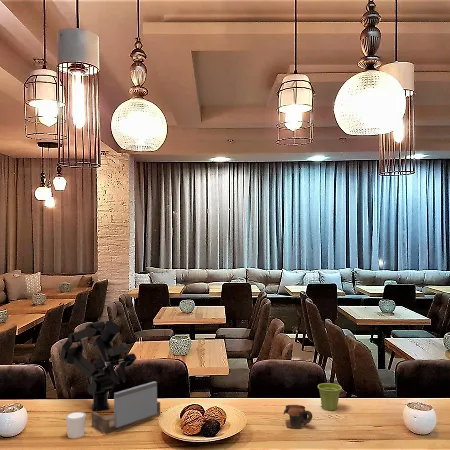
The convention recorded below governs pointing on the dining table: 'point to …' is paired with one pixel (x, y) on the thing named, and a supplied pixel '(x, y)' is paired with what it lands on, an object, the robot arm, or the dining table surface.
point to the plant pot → (329, 395)
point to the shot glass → (75, 424)
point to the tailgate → (135, 404)
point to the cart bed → (107, 422)
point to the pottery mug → (297, 416)
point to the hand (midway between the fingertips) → (121, 382)
